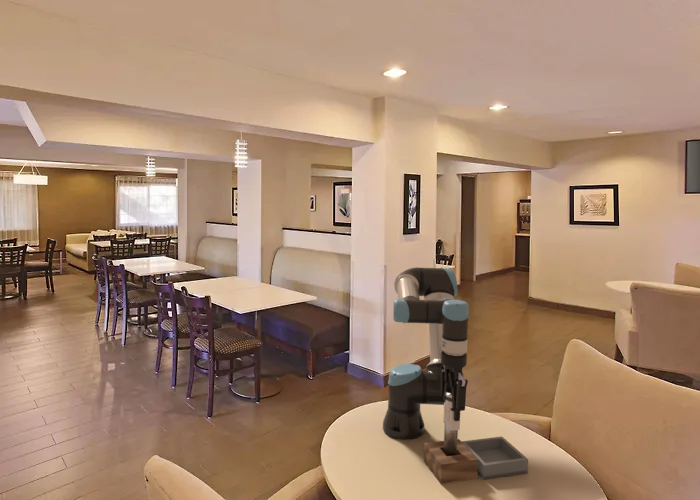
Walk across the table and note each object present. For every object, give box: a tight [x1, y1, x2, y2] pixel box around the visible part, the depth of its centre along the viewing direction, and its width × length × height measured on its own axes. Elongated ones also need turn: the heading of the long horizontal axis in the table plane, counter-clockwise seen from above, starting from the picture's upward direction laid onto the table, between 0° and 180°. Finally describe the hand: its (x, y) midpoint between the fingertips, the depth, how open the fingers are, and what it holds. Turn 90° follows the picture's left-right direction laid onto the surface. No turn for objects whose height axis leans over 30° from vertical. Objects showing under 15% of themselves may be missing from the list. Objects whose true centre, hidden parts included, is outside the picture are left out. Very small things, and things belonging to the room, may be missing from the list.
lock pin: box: [443, 391, 459, 453], centre depth 135 cm, size 4×4×18 cm
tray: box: [460, 435, 529, 480], centre depth 140 cm, size 14×15×4 cm
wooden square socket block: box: [423, 438, 479, 485], centre depth 136 cm, size 12×12×6 cm
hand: (451, 425), depth 135 cm, fingers closed on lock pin, 4 cm apart
